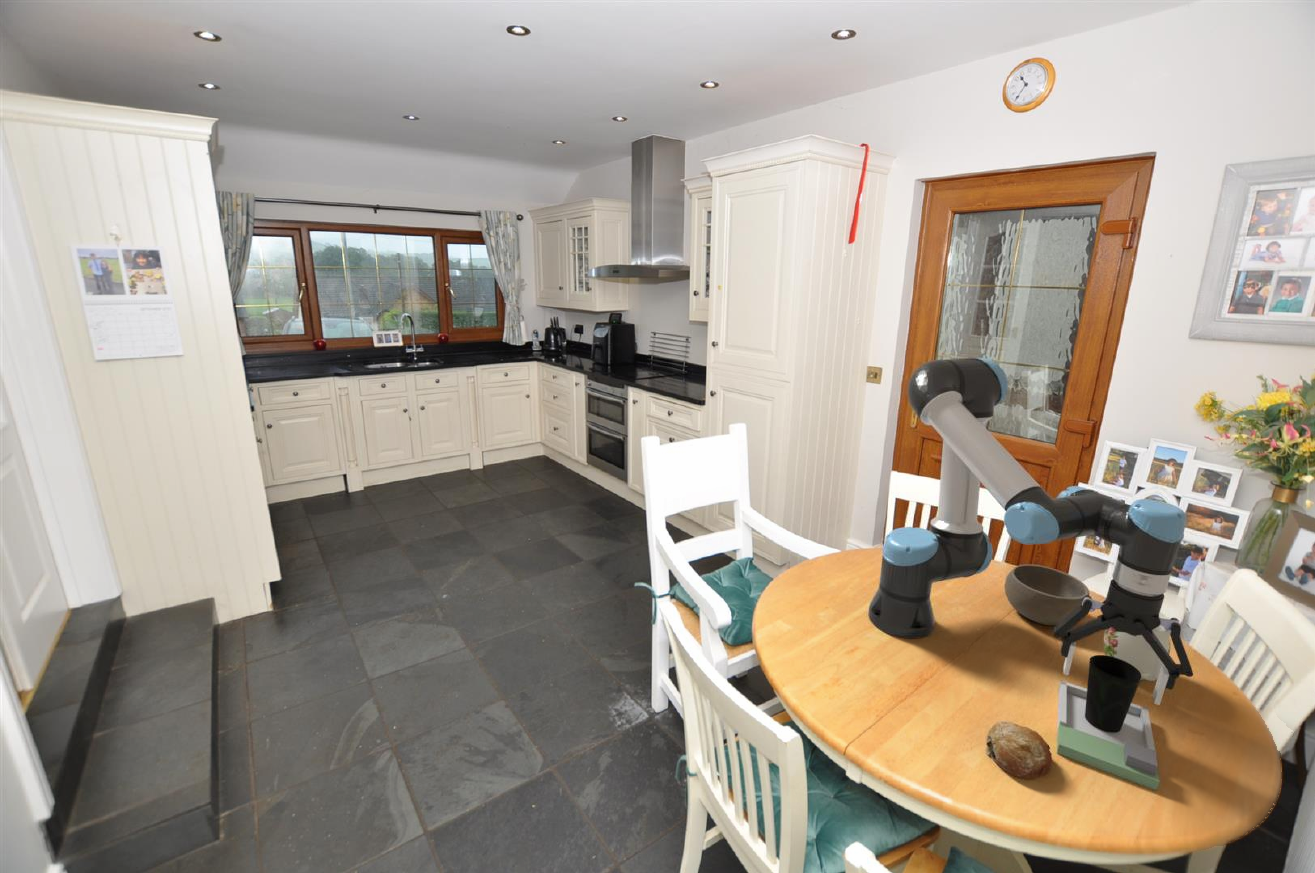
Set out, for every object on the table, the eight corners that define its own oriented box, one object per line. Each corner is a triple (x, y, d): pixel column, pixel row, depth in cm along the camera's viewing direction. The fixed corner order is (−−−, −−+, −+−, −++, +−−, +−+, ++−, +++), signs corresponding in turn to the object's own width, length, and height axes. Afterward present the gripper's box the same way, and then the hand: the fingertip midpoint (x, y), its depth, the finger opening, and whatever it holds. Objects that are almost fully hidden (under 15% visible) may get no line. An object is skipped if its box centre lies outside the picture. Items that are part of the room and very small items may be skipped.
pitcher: (1119, 694, 119) (1134, 637, 115) (1085, 642, 136) (1098, 591, 132) (1183, 706, 116) (1201, 647, 112) (1141, 651, 133) (1156, 599, 129)
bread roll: (979, 753, 109) (968, 722, 107) (1030, 730, 109) (1019, 699, 107) (1015, 798, 100) (1003, 766, 98) (1070, 774, 100) (1059, 741, 97)
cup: (1137, 739, 106) (1151, 682, 103) (1091, 733, 108) (1103, 677, 105) (1113, 710, 114) (1125, 656, 111) (1070, 705, 115) (1081, 652, 112)
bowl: (1095, 619, 145) (1103, 583, 142) (1063, 644, 135) (1072, 606, 133) (1021, 589, 159) (1028, 556, 156) (988, 609, 149) (994, 575, 146)
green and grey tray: (1056, 753, 105) (1061, 734, 104) (1058, 690, 120) (1062, 674, 119) (1156, 790, 97) (1162, 771, 96) (1144, 719, 113) (1149, 702, 112)
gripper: (1053, 573, 106) (1030, 670, 113) (1238, 620, 93) (1201, 726, 99) (1054, 557, 112) (1032, 649, 119) (1228, 598, 99) (1193, 700, 105)
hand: (1109, 685), depth 109 cm, fingers open, 13 cm apart
